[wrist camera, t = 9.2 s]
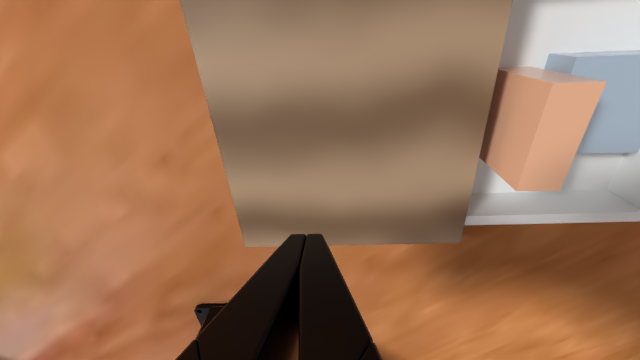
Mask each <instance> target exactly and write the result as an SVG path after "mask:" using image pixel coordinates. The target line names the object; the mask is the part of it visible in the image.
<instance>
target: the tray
mask: <svg viewBox="0 0 640 360" xmlns="http://www.w3.org/2000/svg"><path fill="white" fill-rule="evenodd" d="M625 50H640V0H513V3H512V8H511V12H510V17H509V21H508V26H507V31H506V35H505V40H504V45H503V49H502V54H501V58H500V63H499V67H526V66H531V67H536V68H541V69H544V68H545V65H546V61H547V58H548V55H549V54H551V53H575V52H600V51H625ZM635 221H640V149H639V151H638V152H633V153H576V154H575V157H574V159H573V161H572V164H571V166H570V168H569V171H568V173H567V175H566V177H565V180H564V182H563V184H562V187H561V189H560V191H515V190H514V189H513V188H512V187H511V186H510V185H509V184H508V183H507V182H505V181H504V180H503V179H502V178H501V177H500V176H499V175H498V174H497V173H496V172H495V171H493V170H492V169H491V168H490V167H489V166H488V165H487V164H486V163H485V162H484V161H483V160H481V159H480V158H479V160H478V165H477V169H476V174H475V179H474V183H473V188H472V192H471V197H470V202H469V206H468V211H467V215H466V220H465V225H503V224H547V223H591V222H635Z"/></svg>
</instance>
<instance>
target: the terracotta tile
mask: <svg viewBox="0 0 640 360" xmlns="http://www.w3.org/2000/svg"><path fill="white" fill-rule="evenodd" d="M605 85H606V81H601V80H596V79H591V78H586V77H581V76H576V75H571V74H566V73H561V72H556V71H551V70H546V69H541V68H536V67H531V66H526V67H499V68H498V72H497V77H496V81H495V86H494V91H493V95H492V100H491V105H490V109H489V114H488V118H487V123H486V128H485V132H484V137H483V142H482V146H481V151H480V155H479V158H480V159H481V160H483V161H484V162H485V163H486V164H487V165H488V166H489V167H490V168H491V169H492V170H493V171H495V172H496V173H497V174H498V175H499V176H500V177H501V178H502V179H503V180H504V181H505V182H507V183H508V184H509V185H510V186H511V187H512V188H513V189H514V190H515V191H560V189H561V187H562V184H563V182H564V180H565V177H566V175H567V173H568V171H569V168H570V166H571V164H572V161H573V159H574V157H575V154H576V152H577V150H578V147H579V145H580V143H581V140H582V138H583V136H584V133H585V131H586V129H587V126H588V124H589V122H590V119H591V117H592V115H593V113H594V110H595V108H596V106H597V103H598V101H599V99H600V96H601V94H602V92H603V89H604V87H605Z"/></svg>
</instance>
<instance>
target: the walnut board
mask: <svg viewBox="0 0 640 360" xmlns="http://www.w3.org/2000/svg"><path fill="white" fill-rule="evenodd" d="M180 3H181V7H182V11H183V14H184V18H185V22H186V26H187V29H188V33H189V37H190V41H191V44H192V48H193V52H194V56H195V59H196V63H197V67H198V71H199V74H200V78H201V82H202V86H203V89H204V93H205V97H206V101H207V104H208V108H209V112H210V116H211V119H212V123H213V127H214V131H215V134H216V138H217V142H218V146H219V149H220V153H221V157H222V161H223V164H224V168H225V172H226V176H227V179H228V183H229V187H230V191H231V195H232V198H233V202H234V206H235V210H236V213H237V217H238V221H239V225H240V228H241V232H242V236H243V240H244V243H245V247H263V246H280V245H281V244H282V243H283V242H284V241H285V240H286V239H287V238H288V237H289V236H290V235H291V234H306V236H307V234H315V233H320V234H322V235H323V236H324V238H325V241H326V243H327V245H377V244H434V243H461V239H462V234H463V229H464V225H465V220H466V215H467V211H468V206H469V202H470V197H471V192H472V188H473V183H474V179H475V174H476V169H477V165H478V160H479V155H480V151H481V146H482V142H483V137H484V132H485V128H486V123H487V118H488V114H489V109H490V105H491V100H492V95H493V91H494V86H495V81H496V77H497V72H498V68H499V63H500V58H501V54H502V49H503V45H504V40H505V35H506V31H507V26H508V21H509V17H510V12H511V8H512V3H513V0H180Z"/></svg>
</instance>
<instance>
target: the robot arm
mask: <svg viewBox="0 0 640 360" xmlns="http://www.w3.org/2000/svg"><path fill="white" fill-rule="evenodd" d="M194 311H195V314H196V316H197V318H198V320H199V322H200V325H201V328H200V330H199V333H198V335H197V337H196V339H195V340H193V341H192V342H191V343H190V344H189V345H188V347H187V348H186V349H185V350H184V351H183V352H182V353H181V354H180V355H179V356H178V357H177V358H176V359H175V360H382V358H381V356H380V353H379V351H378V349H377V347H376V345H375V343H373V340H372V337H371V335H370V333H369V331H368V329H367V327H366V325H365V322H364V320H363V318H362V316H361V314H360V312H359V310H358V308H357V306H356V304H355V301H354V299H353V297H352V295H351V293H350V291H349V289H348V287H347V285H346V283H345V280H344V278H343V276H342V274H341V272H340V270H339V268H338V266H337V264H336V262H335V259H334V257H333V255H332V253H331V251H330V249H329V247H328V245H327V243H326V241H325V238H324V236H323V235H322V234H320V233H315V234H307V236H306V234H291V235H290V236H289V237H288V238H287V239H286V240H285V241H284V242H283V243H282V244H281V245H280V246H279V248H278V249H277V250H276V251H275V252H274V253H273V254H272V255H271V256H270V257H269V258H268V260H267V261H266V262H265V263H264V264H263V265H262V266H261V267H260V268H259V269H258V270H257V272H256V273H255V274H254V275H253V276H252V277H251V278H250V279H249V280H248V281H247V282H246V284H245V285H244V286H243V287H242V288H241V289H240V290H239V291H238V292H237V293H236V294H235V296H234V297H233V298H232V299H231V300H230V301H229V302H228V303H227V304H226V305H218V304H200V305H197V306H196V308H195V310H194Z"/></svg>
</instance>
